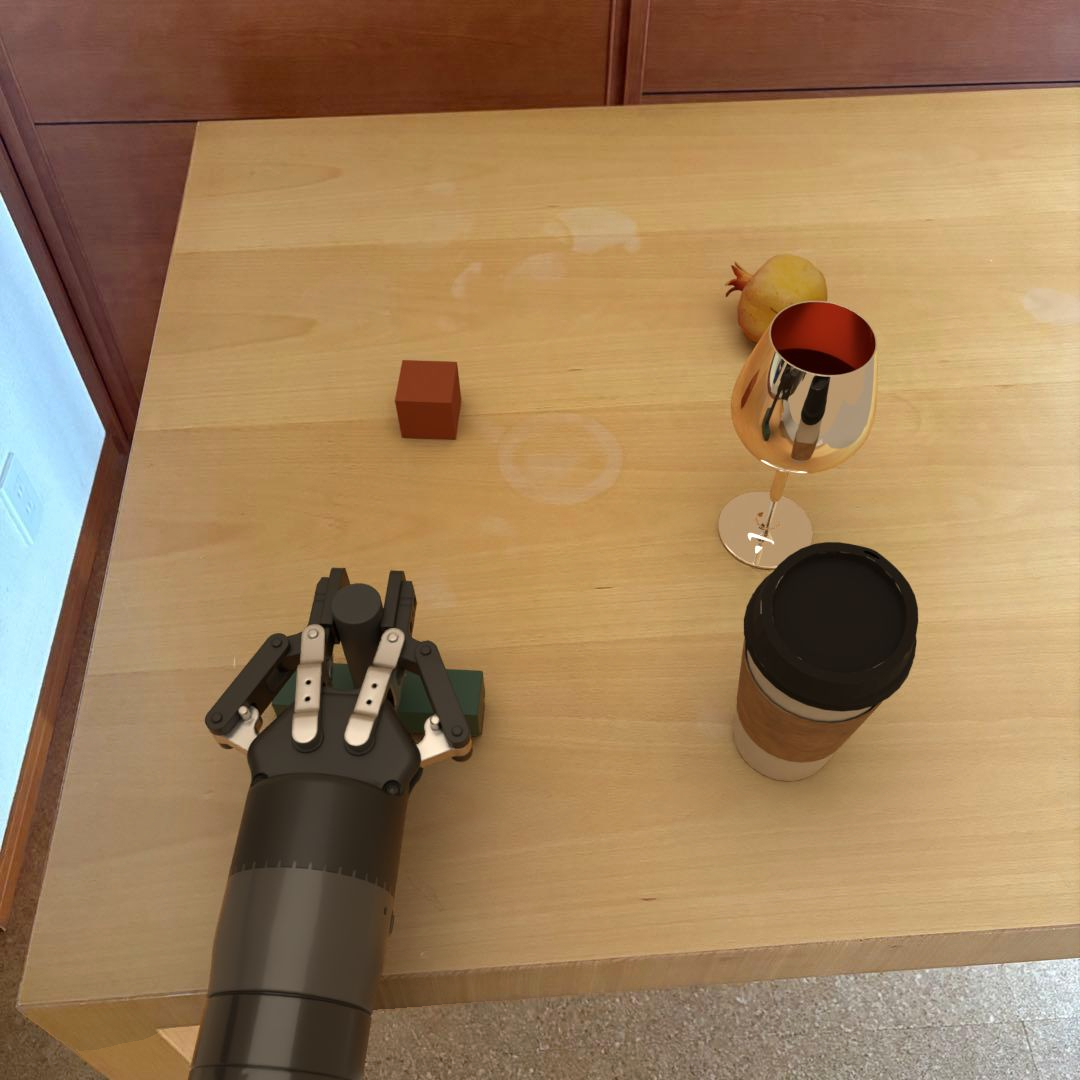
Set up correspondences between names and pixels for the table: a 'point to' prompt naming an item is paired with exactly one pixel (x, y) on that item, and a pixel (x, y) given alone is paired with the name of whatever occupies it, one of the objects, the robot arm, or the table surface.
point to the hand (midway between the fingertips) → (369, 577)
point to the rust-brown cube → (428, 399)
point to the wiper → (360, 639)
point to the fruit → (774, 291)
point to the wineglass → (798, 419)
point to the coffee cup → (820, 655)
